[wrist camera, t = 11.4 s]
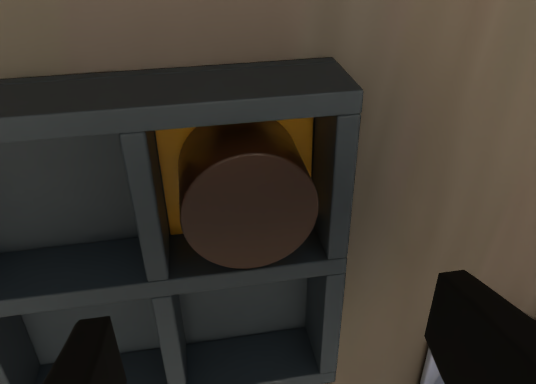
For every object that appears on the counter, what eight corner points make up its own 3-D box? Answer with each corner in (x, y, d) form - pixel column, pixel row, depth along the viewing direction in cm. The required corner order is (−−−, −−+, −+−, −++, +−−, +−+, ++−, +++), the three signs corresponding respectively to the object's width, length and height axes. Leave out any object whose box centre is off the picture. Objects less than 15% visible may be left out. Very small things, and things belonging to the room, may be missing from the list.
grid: (317, 326, 22) (335, 382, 20) (30, 367, 21) (11, 434, 18) (333, 56, 16) (364, 90, 13) (-89, 84, 14) (-146, 129, 11)
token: (295, 207, 18) (316, 261, 15) (184, 219, 17) (187, 276, 15) (297, 104, 16) (322, 146, 13) (170, 114, 15) (171, 160, 13)
